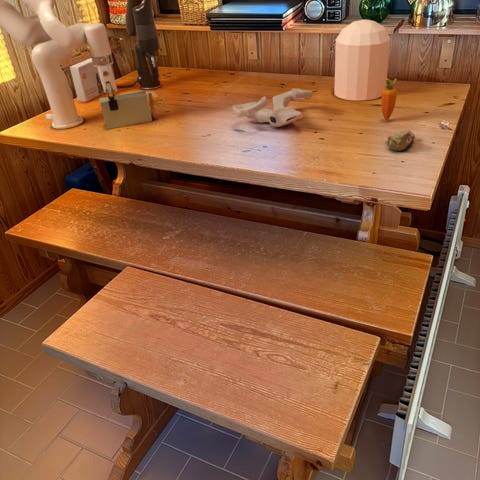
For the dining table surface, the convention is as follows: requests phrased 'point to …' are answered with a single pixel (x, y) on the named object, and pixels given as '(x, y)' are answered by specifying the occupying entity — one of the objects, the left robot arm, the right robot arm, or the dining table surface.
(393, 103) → the carrot
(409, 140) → the rock
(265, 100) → the beige branched piece
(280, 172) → the dining table surface
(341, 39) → the container
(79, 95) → the skincare box
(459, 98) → the dining table surface
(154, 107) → the drawer
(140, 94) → the grey rectangular box
